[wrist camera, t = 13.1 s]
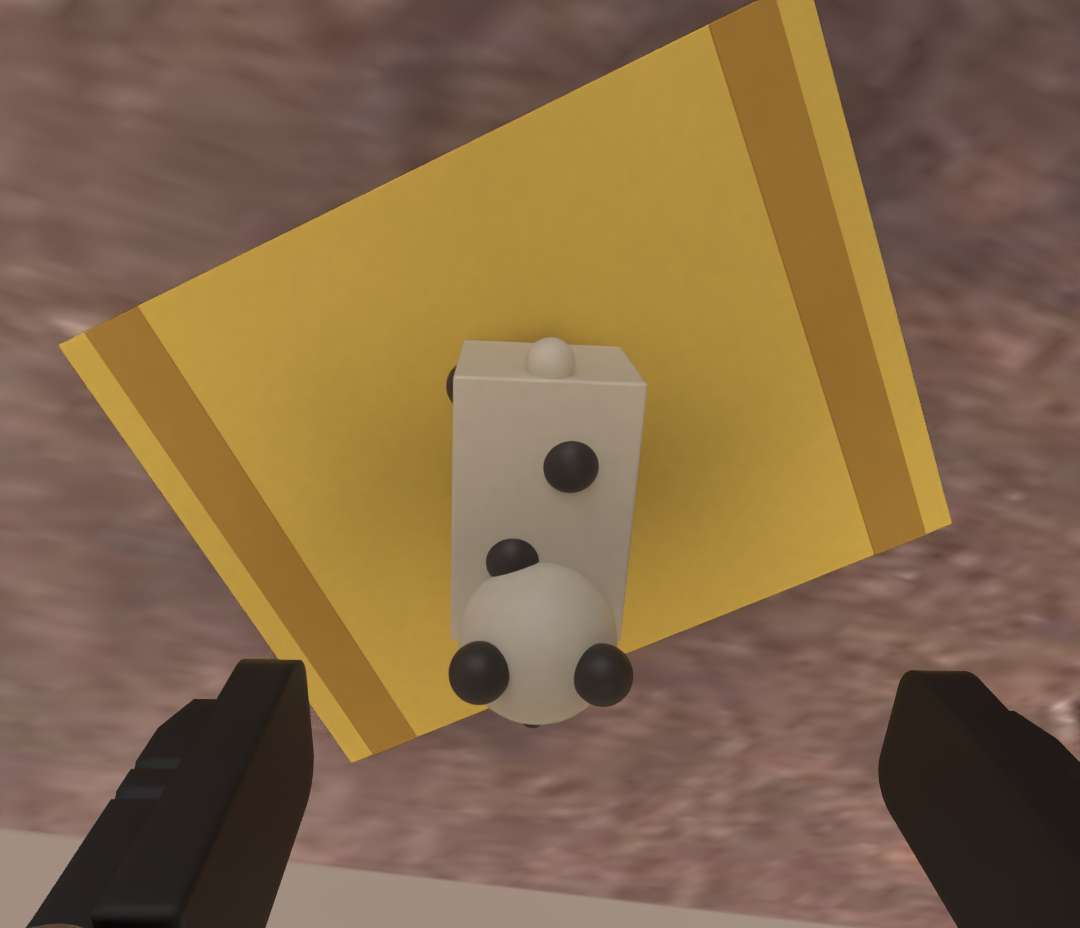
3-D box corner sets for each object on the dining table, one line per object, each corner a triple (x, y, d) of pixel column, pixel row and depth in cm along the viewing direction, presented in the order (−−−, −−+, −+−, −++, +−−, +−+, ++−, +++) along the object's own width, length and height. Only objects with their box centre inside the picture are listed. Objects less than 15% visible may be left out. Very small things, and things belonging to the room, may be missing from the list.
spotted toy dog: (454, 299, 18) (423, 369, 11) (627, 308, 19) (700, 380, 12) (451, 598, 22) (424, 799, 14) (599, 601, 22) (644, 800, 15)
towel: (801, -20, 17) (808, -26, 16) (945, 518, 22) (953, 524, 21) (66, 342, 19) (55, 345, 18) (353, 754, 24) (351, 764, 23)
